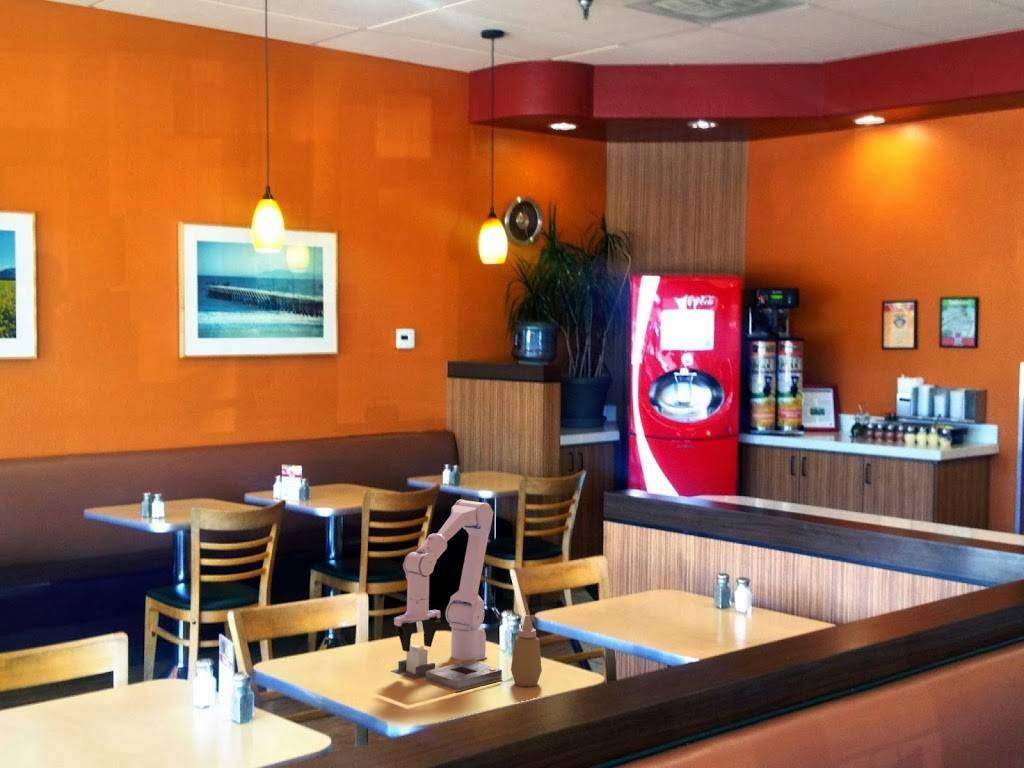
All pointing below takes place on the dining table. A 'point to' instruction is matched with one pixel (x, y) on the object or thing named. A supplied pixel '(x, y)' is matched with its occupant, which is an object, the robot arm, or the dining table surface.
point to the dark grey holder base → (419, 670)
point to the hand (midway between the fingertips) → (416, 648)
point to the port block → (464, 675)
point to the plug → (416, 658)
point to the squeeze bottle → (526, 656)
